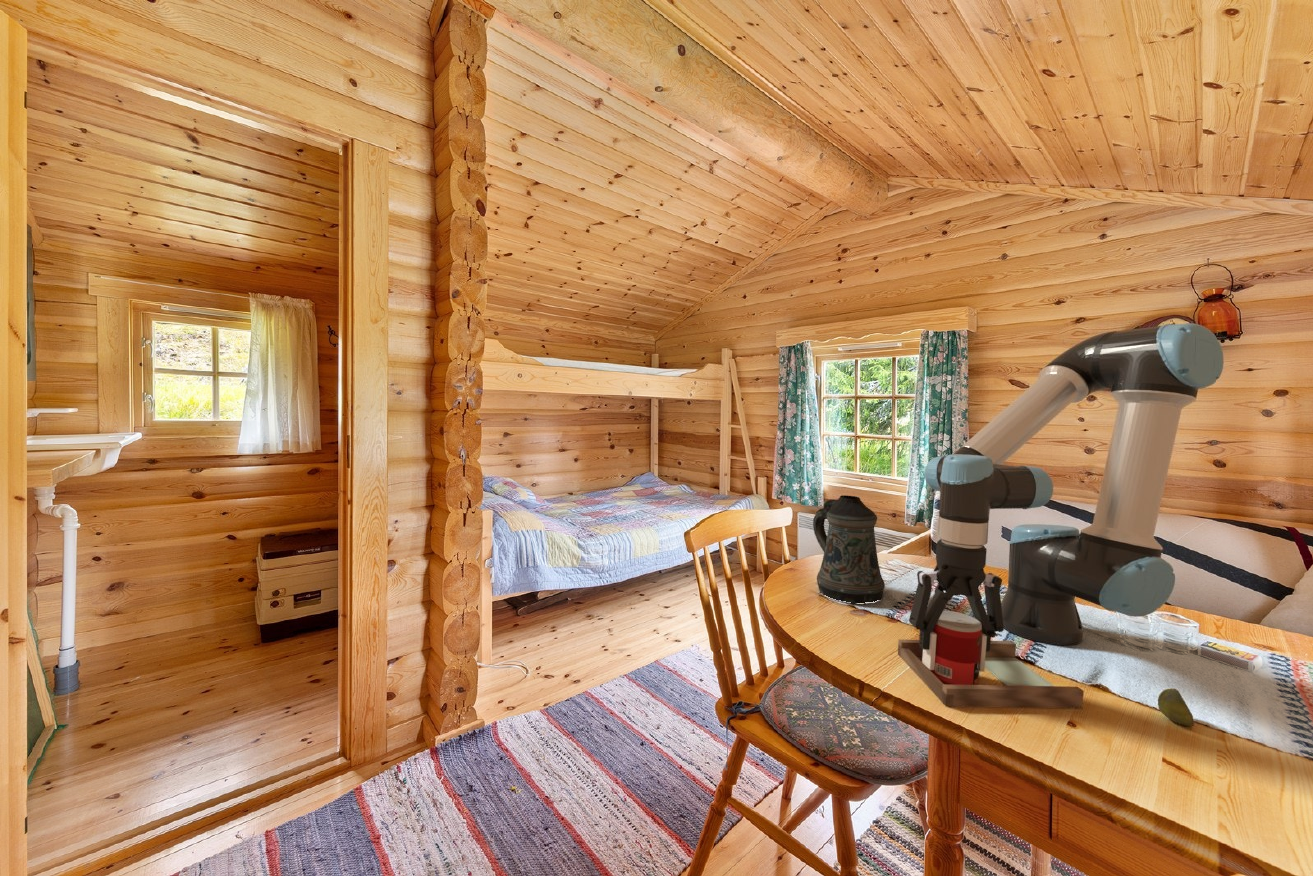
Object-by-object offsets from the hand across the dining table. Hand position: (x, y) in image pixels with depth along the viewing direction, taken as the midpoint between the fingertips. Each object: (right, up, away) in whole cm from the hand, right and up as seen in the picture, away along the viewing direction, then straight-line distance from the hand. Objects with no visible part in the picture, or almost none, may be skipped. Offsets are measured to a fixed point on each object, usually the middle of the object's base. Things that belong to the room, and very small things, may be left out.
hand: (952, 666), depth 90 cm
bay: (+5, -2, 0) cm, 6 cm away
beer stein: (-4, +1, +42) cm, 42 cm away
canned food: (0, -2, 0) cm, 2 cm away
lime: (+28, -3, -12) cm, 31 cm away
